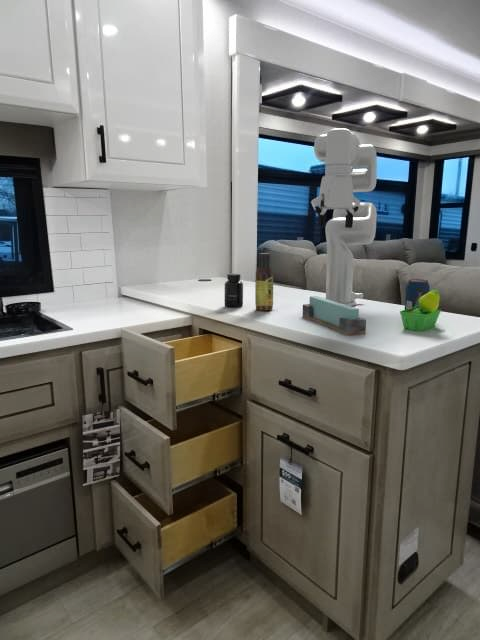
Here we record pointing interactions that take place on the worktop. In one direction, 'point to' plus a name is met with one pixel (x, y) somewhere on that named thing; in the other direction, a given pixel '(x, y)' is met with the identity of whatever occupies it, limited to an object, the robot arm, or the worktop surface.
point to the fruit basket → (422, 313)
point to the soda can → (415, 292)
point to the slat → (332, 310)
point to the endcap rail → (344, 324)
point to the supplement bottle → (233, 291)
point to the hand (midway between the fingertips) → (335, 227)
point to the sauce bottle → (264, 284)
